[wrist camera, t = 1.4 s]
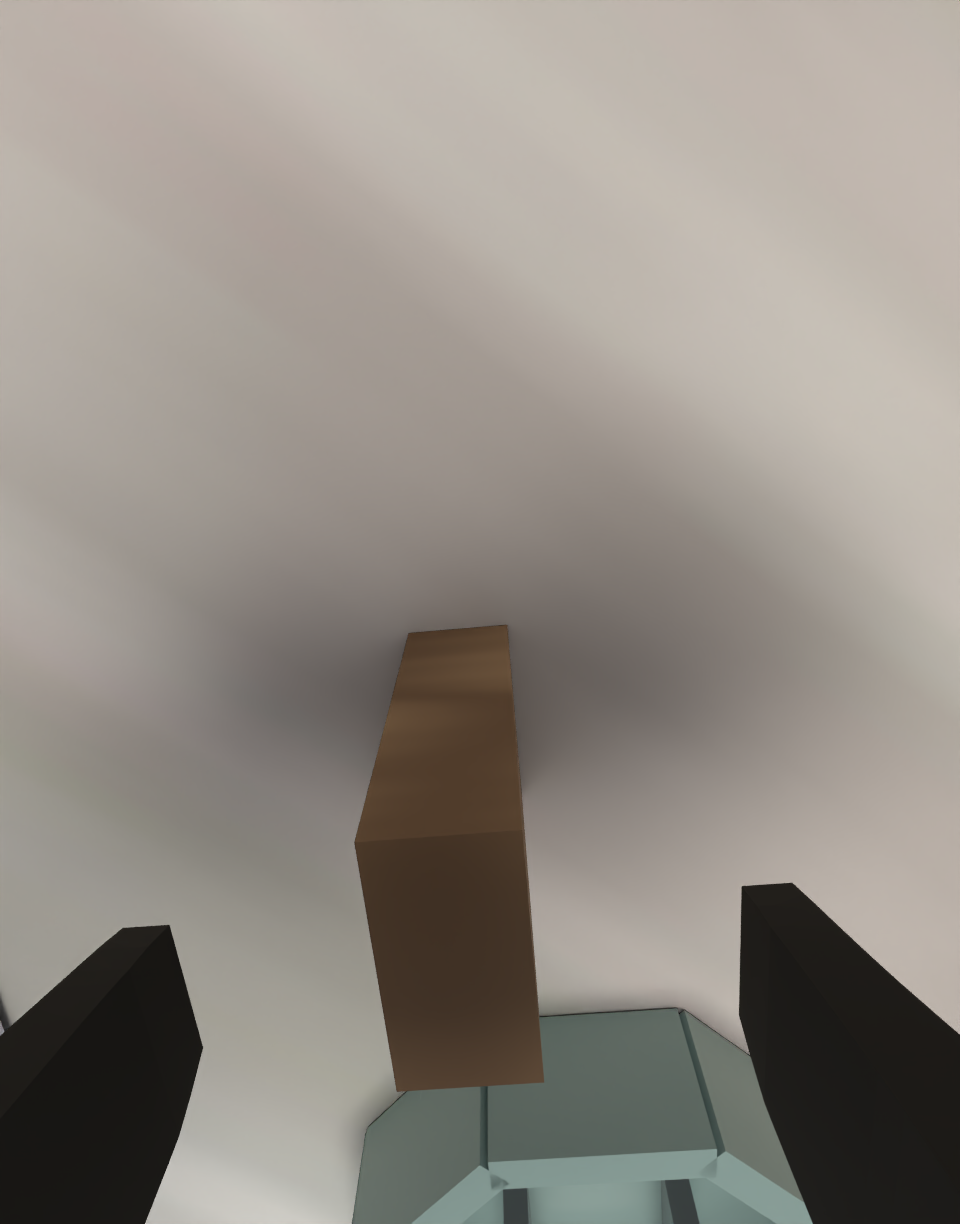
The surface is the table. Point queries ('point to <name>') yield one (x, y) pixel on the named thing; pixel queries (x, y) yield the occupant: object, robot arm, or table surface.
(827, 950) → the robot arm
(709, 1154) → the bowl
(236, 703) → the table surface
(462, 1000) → the wooden block
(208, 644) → the table surface
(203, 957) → the table surface
